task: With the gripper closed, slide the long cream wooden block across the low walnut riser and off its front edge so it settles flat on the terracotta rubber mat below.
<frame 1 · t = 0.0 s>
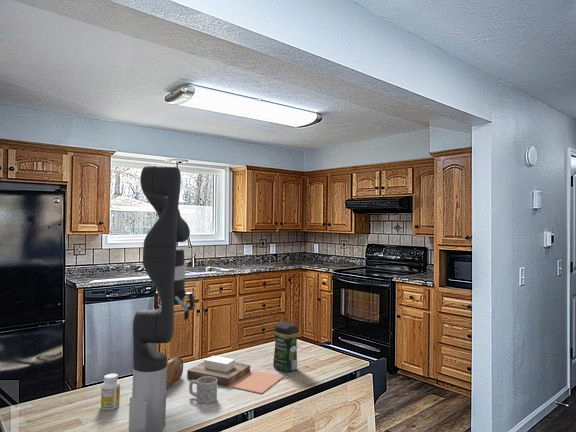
hand: (174, 319, 158), 22 cm above the counter, tool pointing down, fingers open, 8 cm apart
walnut riser: (219, 375, 164), on the counter
cream block: (219, 367, 164), point 3 cm above the counter, touching walnut riser
supplement bottle: (110, 407, 134), on the counter
terracotta mat: (256, 381, 158), on the counter
tin: (170, 384, 155), on the counter
coffee jar: (285, 369, 173), on the counter
mug: (202, 400, 142), on the counter
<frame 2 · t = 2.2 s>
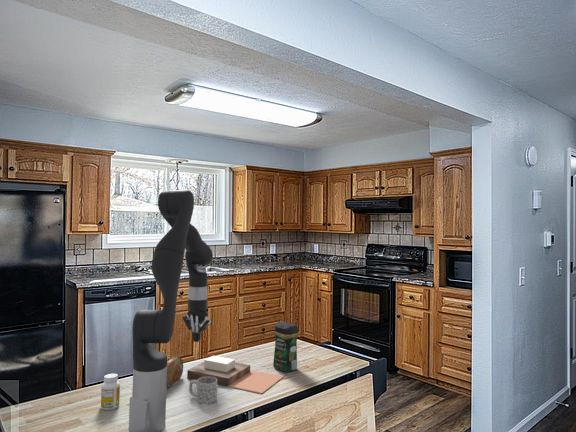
hand: (196, 341, 169), 11 cm above the counter, tool pointing down, fingers closed
nothing on the counter moved.
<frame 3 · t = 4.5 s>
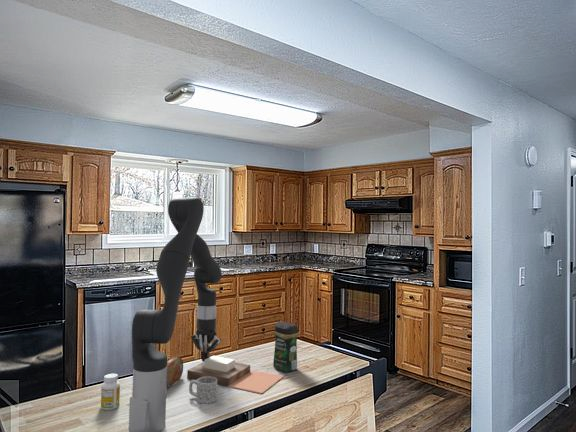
hand: (205, 361, 167), 4 cm above the counter, tool pointing down, fingers closed
cream block: (219, 367, 164), point 3 cm above the counter, touching gripper, walnut riser
everything else where it was.
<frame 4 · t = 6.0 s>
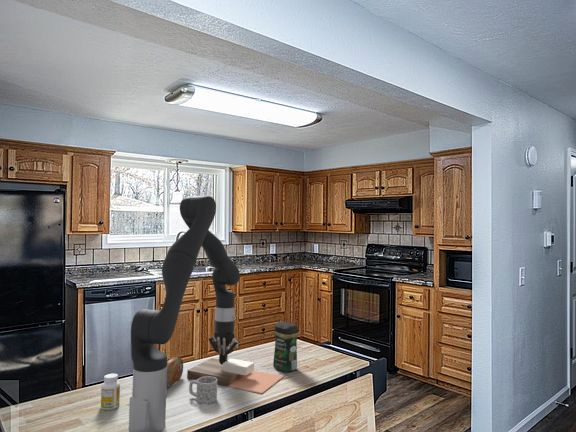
hand: (223, 364, 163), 5 cm above the counter, tool pointing down, fingers closed
cream block: (238, 370, 161), point 3 cm above the counter, touching gripper
everything else where it was.
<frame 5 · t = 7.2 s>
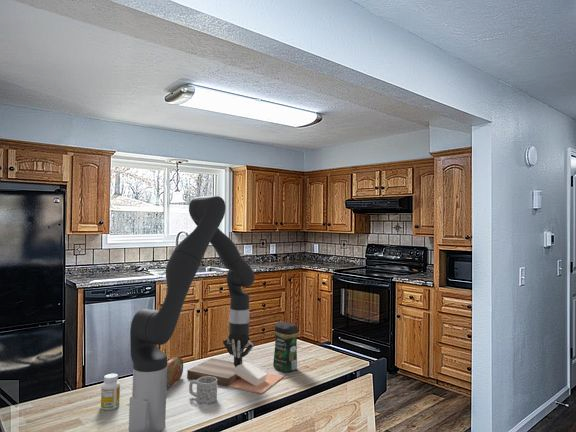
hand: (237, 366, 161), 5 cm above the counter, tool pointing down, fingers closed
cream block: (250, 377, 158), point 2 cm above the counter, tilted 16°, touching terracotta mat, walnut riser
everything else where it was.
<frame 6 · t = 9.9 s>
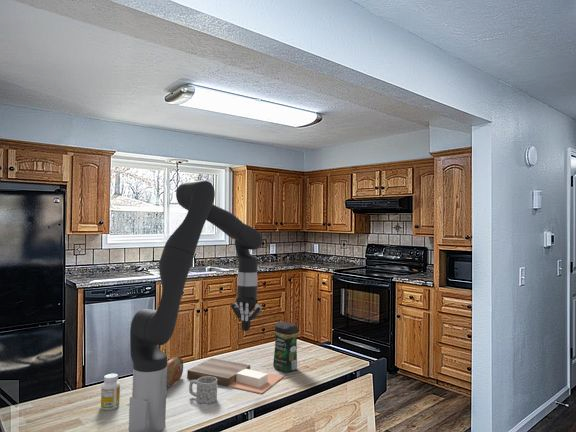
hand: (245, 330, 160), 19 cm above the counter, tool pointing down, fingers closed
cream block: (251, 381, 157), resting on terracotta mat
everything else where it was.
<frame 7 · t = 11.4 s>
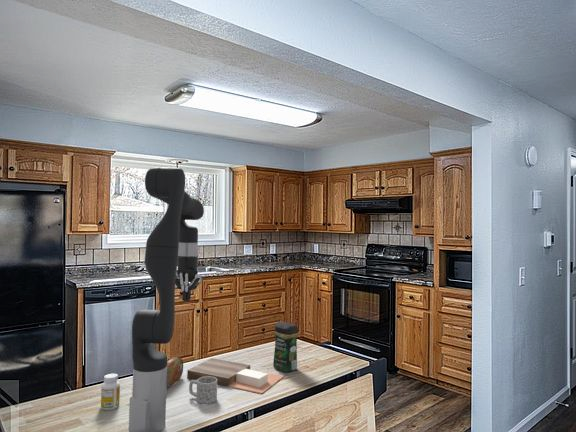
hand: (186, 301, 159), 29 cm above the counter, tool pointing down, fingers closed
nothing on the counter moved.
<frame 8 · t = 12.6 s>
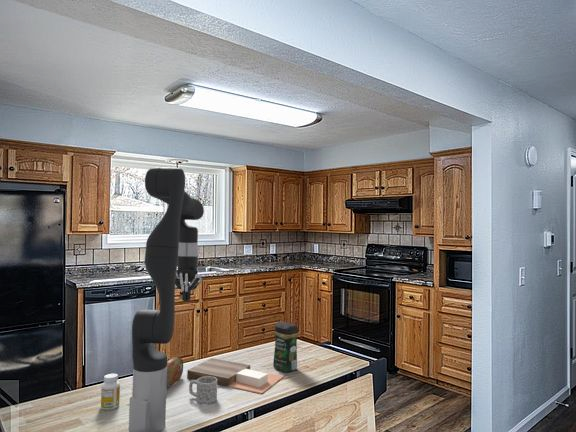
hand: (186, 301, 159), 29 cm above the counter, tool pointing down, fingers closed
nothing on the counter moved.
at the end: cream block inside the target area (2.1 cm from its centre), resting on terracotta mat; cream block tilted 0° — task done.
